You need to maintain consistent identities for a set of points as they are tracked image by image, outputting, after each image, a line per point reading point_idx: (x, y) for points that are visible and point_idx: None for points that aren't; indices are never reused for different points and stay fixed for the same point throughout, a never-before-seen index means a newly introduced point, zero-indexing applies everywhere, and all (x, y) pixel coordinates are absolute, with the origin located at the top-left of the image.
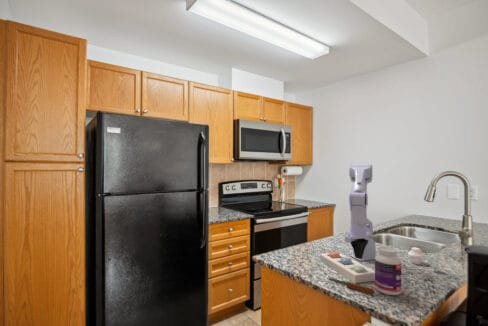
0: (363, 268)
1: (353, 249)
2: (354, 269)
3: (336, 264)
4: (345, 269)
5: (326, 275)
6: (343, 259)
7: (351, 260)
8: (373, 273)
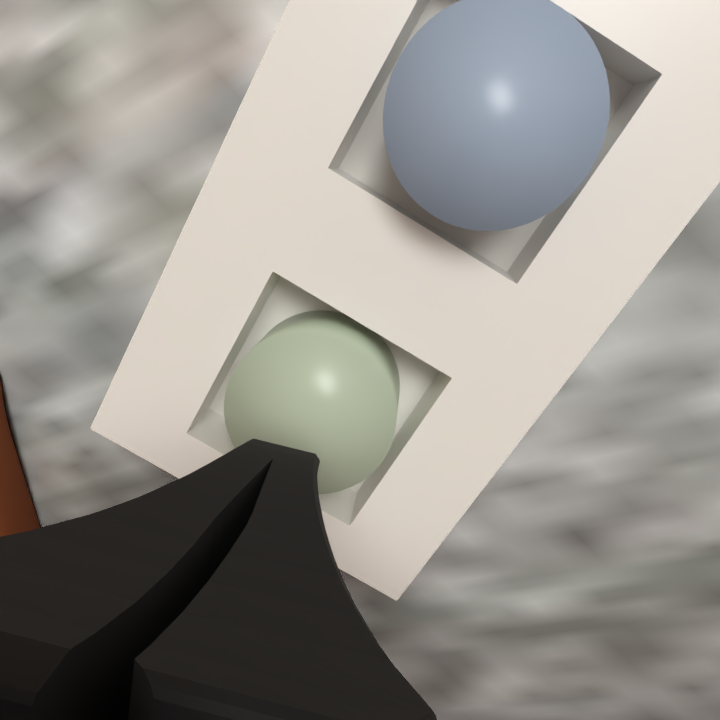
0: (342, 466)
1: (141, 501)
2: (235, 372)
3: (276, 31)
4: (175, 255)
5: (50, 20)
6: (439, 88)
7: (513, 226)
8: (342, 566)
